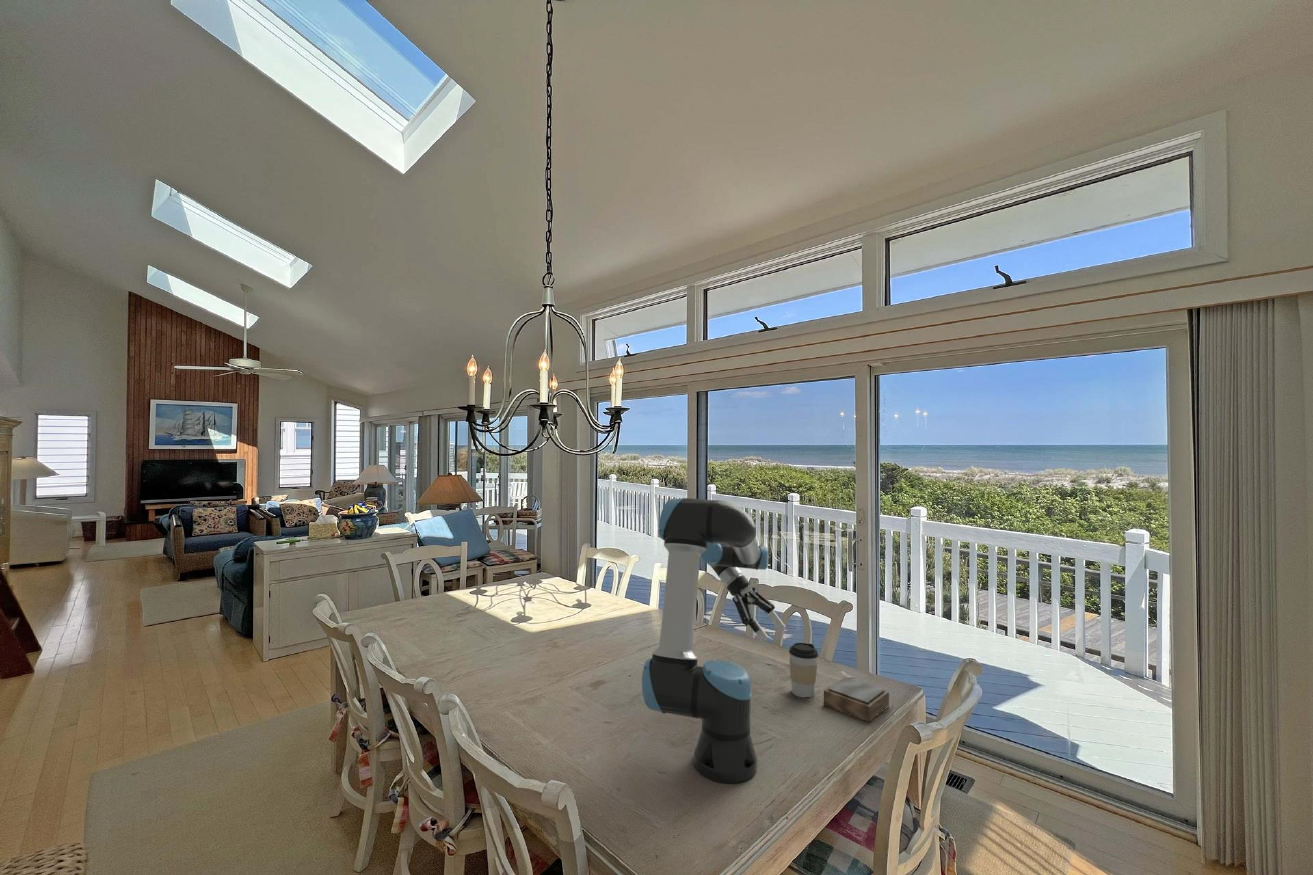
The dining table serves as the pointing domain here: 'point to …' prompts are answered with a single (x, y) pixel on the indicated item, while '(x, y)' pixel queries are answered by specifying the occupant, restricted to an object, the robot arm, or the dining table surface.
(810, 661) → the coffee cup
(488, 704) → the dining table surface
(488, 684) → the dining table surface
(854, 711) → the walnut block
